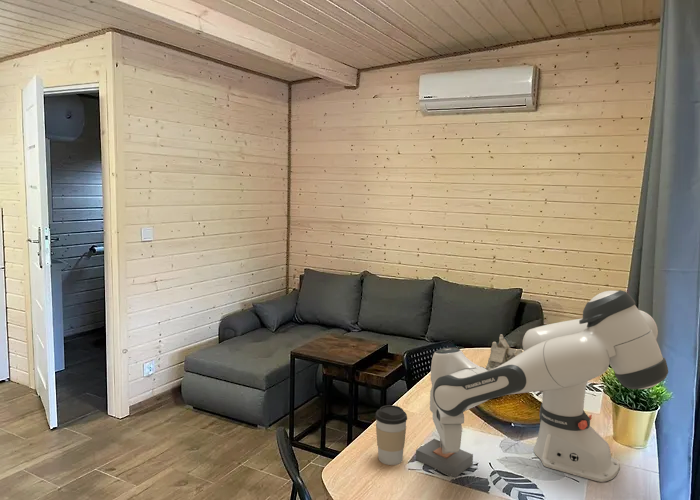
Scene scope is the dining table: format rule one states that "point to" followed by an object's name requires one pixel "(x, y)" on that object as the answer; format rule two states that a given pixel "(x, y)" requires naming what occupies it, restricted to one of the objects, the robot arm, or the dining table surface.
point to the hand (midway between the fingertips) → (444, 451)
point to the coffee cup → (390, 434)
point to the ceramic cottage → (501, 353)
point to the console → (444, 459)
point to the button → (439, 452)
